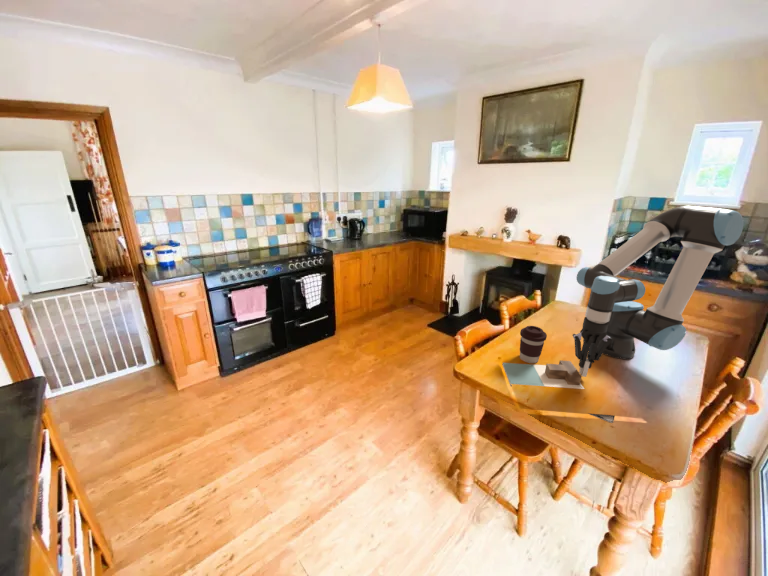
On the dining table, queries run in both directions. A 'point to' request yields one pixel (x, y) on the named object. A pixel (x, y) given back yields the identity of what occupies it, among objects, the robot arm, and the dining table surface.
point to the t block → (563, 372)
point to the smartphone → (604, 417)
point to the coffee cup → (531, 343)
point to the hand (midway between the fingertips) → (582, 374)
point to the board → (533, 376)
